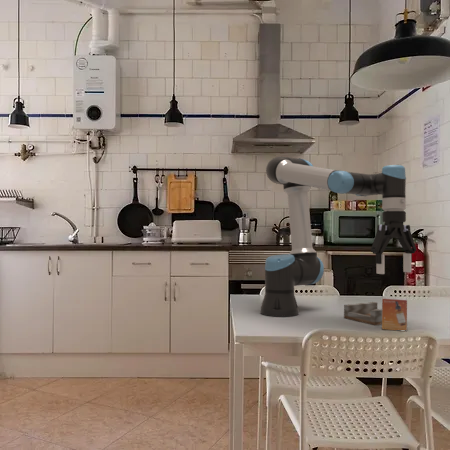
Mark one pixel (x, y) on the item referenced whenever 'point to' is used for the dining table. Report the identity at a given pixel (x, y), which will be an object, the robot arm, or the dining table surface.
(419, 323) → the dining table surface
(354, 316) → the cradle
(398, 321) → the small box
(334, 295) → the dining table surface
